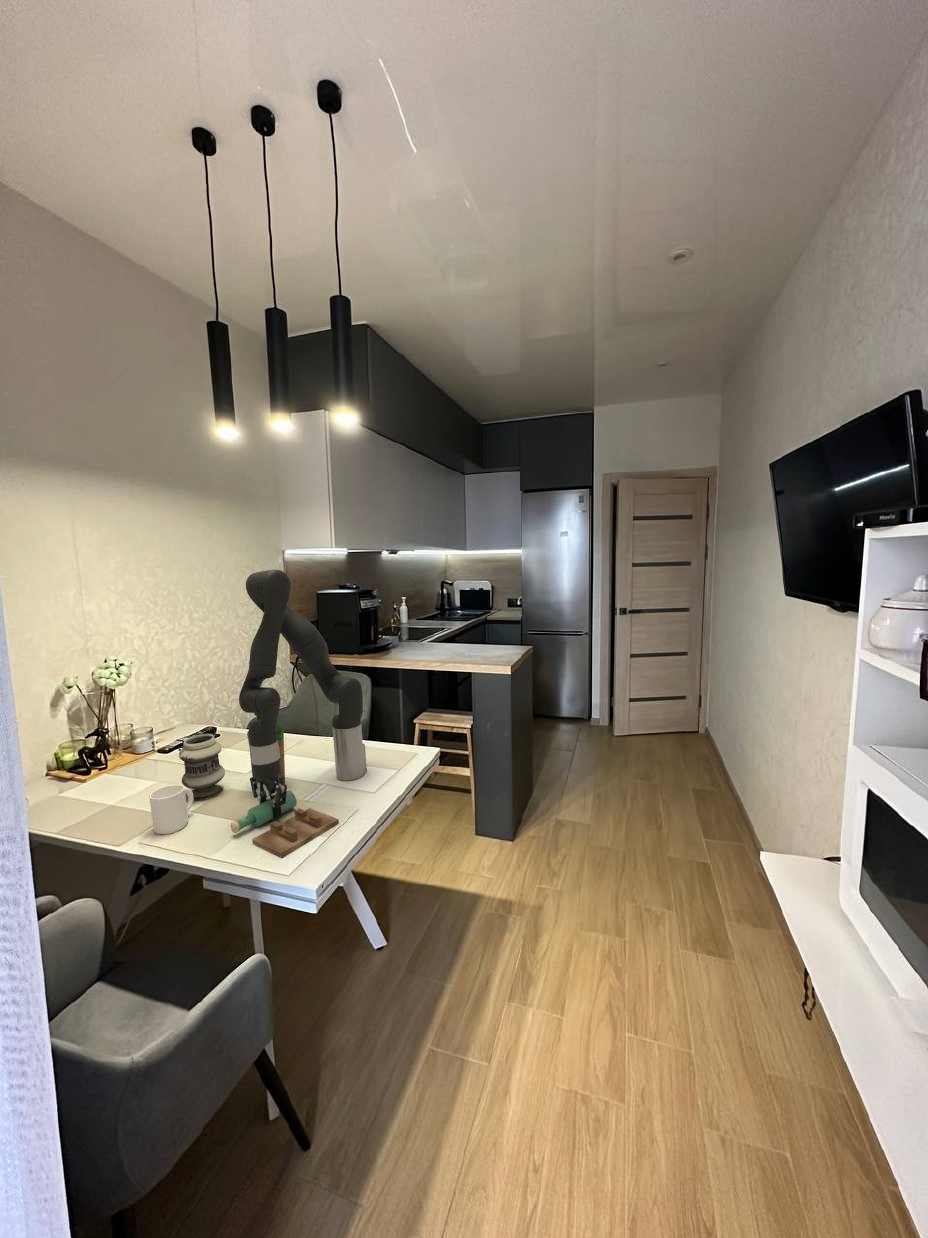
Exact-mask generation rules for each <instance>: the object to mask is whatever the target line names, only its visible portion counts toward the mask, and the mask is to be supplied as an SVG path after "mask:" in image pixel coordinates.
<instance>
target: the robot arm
mask: <svg viewBox="0 0 928 1238" xmlns="http://www.w3.org/2000/svg"><path fill="white" fill-rule="evenodd" d="M245 581H246V582H245V589H246V593H247V595H248V597H249V599H250V600H251V601H252V602H253V603H254V605H256V606H257V608H258V609H260V611H261V612H262V613H263V615H262V617H261V618H262V619H261V622H260V624H259V627H258V629H257V631H256V633H255V636H254V638H253V640H252V643H251V645H250V652H249V660H248V661H249V662H248V671H247V673H246V676H245V678H244V682H243V684H242V687H241V690H240V692H239V696H238V704H239V707H240V709H241V710H242V711H243V712H244V713H248V714H254V713H261V715H262V717H261V720H257V719H256V720H254V721H253V722H251V723H250V724H249V726H248V731H249V738H250V748H249V756H250V766H251V774H252V775H251V777H250V778H249V782H250V786H251V787H250V788H251V790H252V791H251V792H252V795H253V798H254V799H257V802H259V803H258V804H261V803H263V802H265V801H267V800H270V801H271V804H272V812H273V819H272V820H275V821H277V820H279V819H281V818H282V815H283V814H282V813H281V805H283V804H285V803H286V794H287V791H288V789H287V787H288V786H287V784H286V783H285V784H284V785H281V784H280V782H279V779H278V775H279V773H280V772H281V762H280V751H279V745H278V740H277V730H276V725H277V722H278V717H279V711H280V709H281V708H280V707H281V695H280V693H279V692H278V690H277V689H276V688H274V687H269V686H268V687H267V686H265V687H263V686H262V684H263V683H264V681H265V680H268V679H272V678H273V677H275V676H276V673H277V663H278V662H277V661H278V651H279V644H280V637H281V635H282V637H283V638H284V640H285V641H286V642H287V644H288V645H289V646H290V648H291V649H292V651H293V652H294V653H295V655H296V656H297V657H298V658H299V660H301V662H302V663H303V664H304V666H305V667H306V669H307V670H308V671H309V672H310V674H311V675H312V676H313V678H314V679H315V681H316V682H317V684H318V686H319V688H320V689H321V692H322V693H323V695H324V696H325V697H326V699H327V700H328V701H329V702H331V703H333V704H335V705H338V714H335V715H333V717H332V719H331V725H332V738H333V752H334V763H335V777H336V779H338V780H340V781H353V780H357V779H359V778H362V777H364V775H365V773H366V772H367V771H368V768H367V766H368V765H367V754H366V753H367V752H366V745H365V743H363V742H364V741H363V732H362V730H363V729H362V717H363V713H364V704H363V703H364V701H363V699H364V698H363V688H362V684H361V683H360V680H358V679H356V678H354V677H351V676H344V675H342V674H341V673H340V672H339V671H338V670H337V669H336V668H335V666H334V664H333V663H332V662H331V660H330V656H329V655H330V653H329V648H328V645H327V642H326V640H325V639H324V637H323V636H322V634H321V633H320V631H319V630H318V629H317V627H316V626H315V625H314V624H313V623H312V622H310V621H309V620H308V619H307V618H306V617H304V616H303V615H301V614H300V613H299V612H297V611H295V610H294V609H293V608H291V606H290V605H289V604H288V603H289V600H290V595H291V588H292V587H291V585H292V584H291V579H290V578H289V575H288V574H287V573H286V572H285V571H283V570H282V569H278V568H277V569H267V570H266V569H265V570H262V571H255V572H253V573H251V574H250V575H248V577H247V579H246V580H245ZM257 788H258V789H257ZM274 798H276V802H275V801H274ZM281 799H282V800H281Z"/></svg>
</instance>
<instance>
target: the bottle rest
mask: <svg viewBox="0 0 928 1238" xmlns="http://www.w3.org/2000/svg"><path fill="white" fill-rule="evenodd" d="M339 823H340V822H339V818H336V817H333V816H331V815H328V814H326V813H324V812H322V811H321V812H320V811H318V810H315V809H313V808H311V807H309V808H307V809H305V810H304V809H302V808H300V807H299V808H298V809H296V810H294V816H293V817H291V818H289V819H287V820H285V821H282V822H281V823H280V821H277V820H275V821H273V822H271V823H270V824H269V826H270V827H269V828H270V829H269V830H266V831H265V832H262V833H261V834H258V835H257V836H255V837H254V838H252V839H251V841H252V845H255V846H256V847H259V848H261V849H263V850H265V851H267V852H268V853H271V854H273V855H275V856H277V857H278V858H281V859H282V858H284V857H286V856H287V855H289V854H291V853H292V852H295V851H296V850H297V849H300V848H301V847H302V846H304V845H307V843H309V842H311V841H312V840H314V839H316V838H317V837H319V836H320V835H322V834H324V833H325V832H327V831H329V830H330V829H332V828H334V827H336V826H337V825H338V824H339Z"/></svg>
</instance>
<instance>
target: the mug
mask: <svg viewBox="0 0 928 1238" xmlns="http://www.w3.org/2000/svg"><path fill="white" fill-rule="evenodd" d="M186 795H187V798H186ZM148 797H149V804H150V811H151V812H150V813H151V821H152V828H153V830H154V831H153V832H154V833H155V834H158V835H169V834H172V833H176V832H178V831H181V830H182V829H183V828H185V827H186V826H187V824H188V822H189V815H188V812H189V811H190V810H191V808H192V806H193V803H194V801H193V793H192V789H190V788H187V787H185V786H184V785H183V784H171V785H166V786H162V787H159V788H157V789H155V790H153V791H152V792H151V793H150V794H149V796H148ZM186 799H187V800H186Z"/></svg>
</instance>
